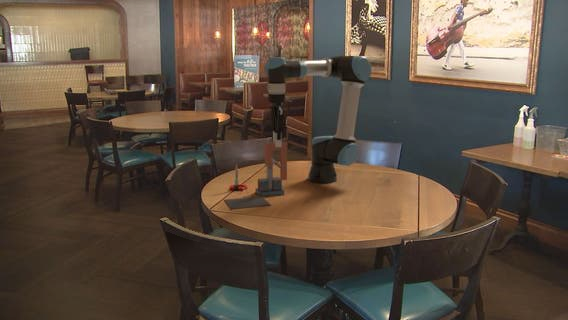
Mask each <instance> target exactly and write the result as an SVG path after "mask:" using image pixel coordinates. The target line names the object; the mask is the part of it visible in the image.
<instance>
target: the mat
mask: <svg viewBox="0 0 568 320" xmlns="http://www.w3.org/2000/svg"><path fill="white" fill-rule="evenodd" d="M223 201H224V202H225V205H227V206H228V208H229V209H230V210H231V211H232V210H239V209H249V208H250V209H251V208H260V207H266V206H267V207H268V206H269V207H270V206H272V205H271V203H269V202H268V200H266V198H264V197H262V196H259V195H258V196H251V197H239V198H238V197H237V198H229V199H228V198H227V199H223Z"/></svg>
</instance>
